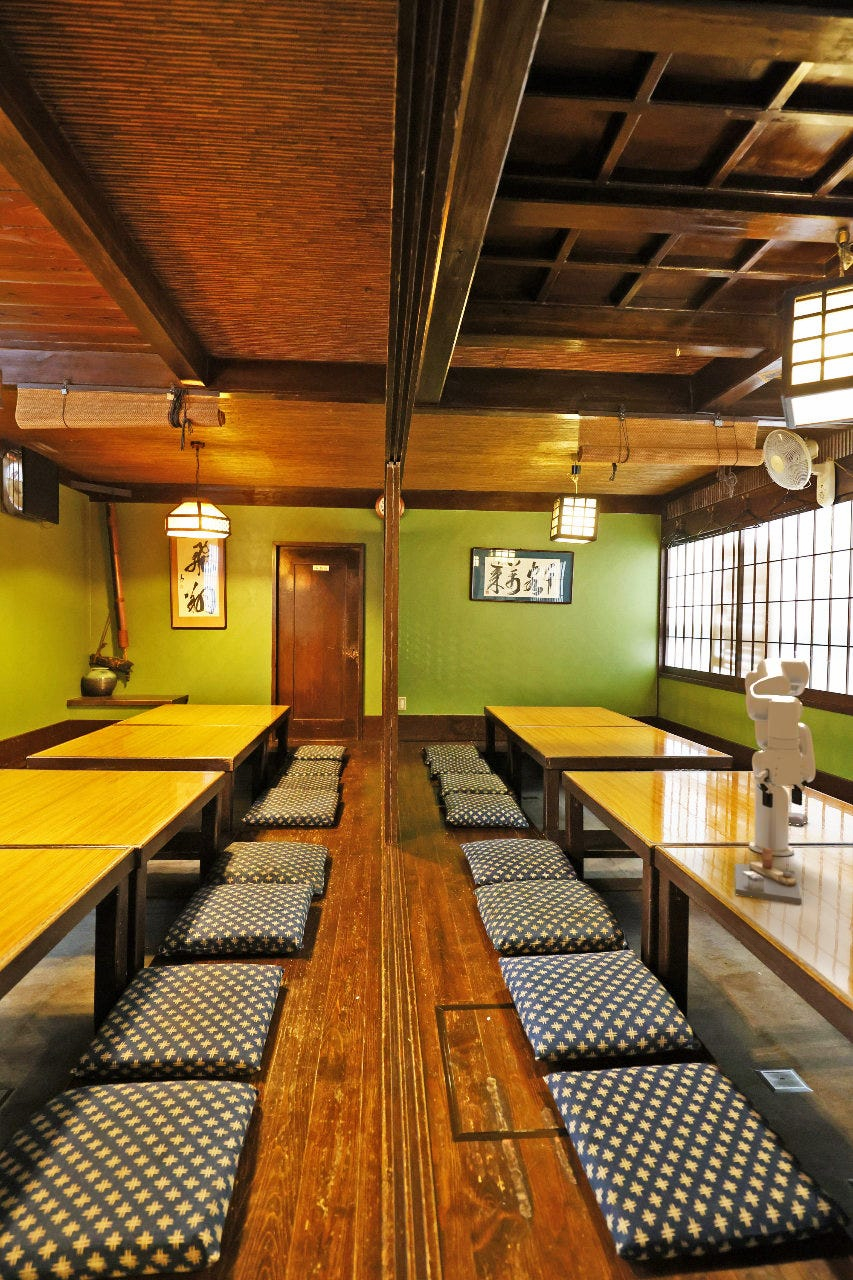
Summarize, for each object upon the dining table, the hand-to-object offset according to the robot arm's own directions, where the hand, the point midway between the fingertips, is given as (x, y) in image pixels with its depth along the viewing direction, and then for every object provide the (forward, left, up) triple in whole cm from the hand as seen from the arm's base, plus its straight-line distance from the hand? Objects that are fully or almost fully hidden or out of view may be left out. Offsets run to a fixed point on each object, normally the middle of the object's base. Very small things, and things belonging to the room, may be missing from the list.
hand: (782, 805), depth 187 cm
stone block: (-69, +7, -21) cm, 72 cm away
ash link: (+4, -2, -19) cm, 19 cm away
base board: (+7, -4, -21) cm, 22 cm away
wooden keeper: (+14, -8, -19) cm, 25 cm away
